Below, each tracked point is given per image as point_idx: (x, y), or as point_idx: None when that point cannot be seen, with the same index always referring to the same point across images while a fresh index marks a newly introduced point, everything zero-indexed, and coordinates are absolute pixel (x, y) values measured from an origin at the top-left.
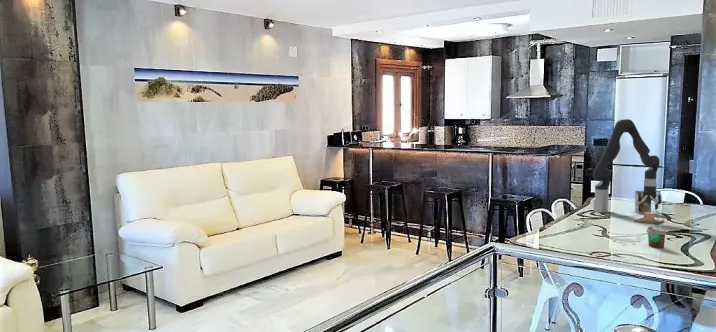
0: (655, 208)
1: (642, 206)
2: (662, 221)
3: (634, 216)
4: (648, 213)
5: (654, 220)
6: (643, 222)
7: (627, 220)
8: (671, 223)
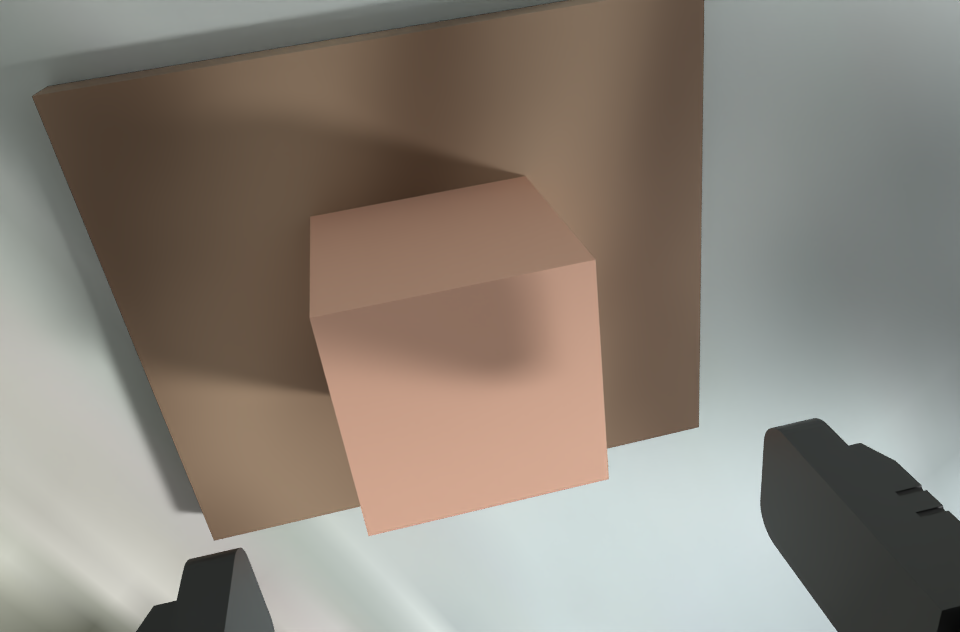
0: (203, 590)
1: (816, 460)
2: (186, 463)
3: None
4: (466, 351)
5: None
6: (441, 25)
7: (895, 12)
8: (7, 521)
